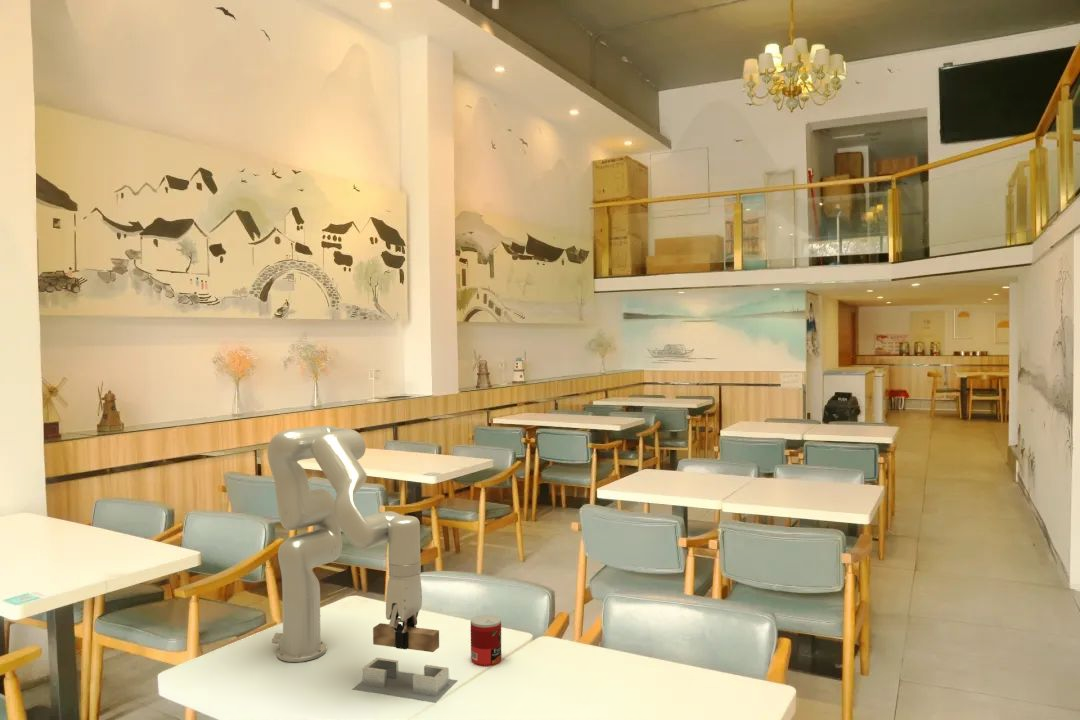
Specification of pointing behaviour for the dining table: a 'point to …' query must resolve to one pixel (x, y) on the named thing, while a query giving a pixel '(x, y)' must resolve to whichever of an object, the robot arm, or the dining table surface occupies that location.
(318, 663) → the dining table surface
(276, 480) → the robot arm
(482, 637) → the canned food
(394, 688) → the mat
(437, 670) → the endcap
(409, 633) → the slat
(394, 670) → the endcap
